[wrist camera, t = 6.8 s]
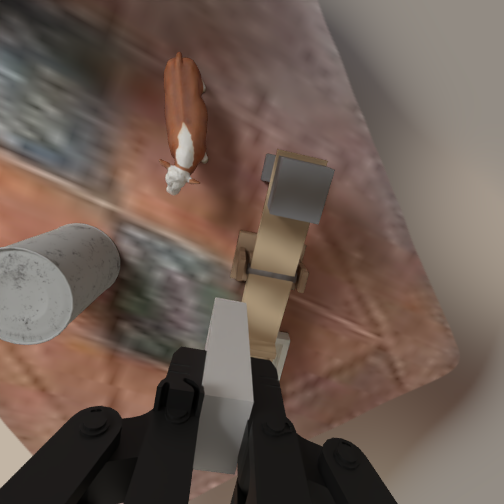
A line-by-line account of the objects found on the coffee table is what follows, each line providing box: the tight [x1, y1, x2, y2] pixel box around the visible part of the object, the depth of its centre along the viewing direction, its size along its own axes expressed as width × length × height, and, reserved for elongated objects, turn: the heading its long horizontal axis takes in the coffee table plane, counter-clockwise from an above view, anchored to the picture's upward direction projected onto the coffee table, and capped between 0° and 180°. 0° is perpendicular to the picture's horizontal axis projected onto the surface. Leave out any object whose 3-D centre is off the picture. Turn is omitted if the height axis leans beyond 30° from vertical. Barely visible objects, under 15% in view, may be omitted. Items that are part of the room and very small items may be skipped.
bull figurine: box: [159, 52, 208, 195], centre depth 34 cm, size 4×13×8 cm, turn 176°
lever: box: [241, 149, 335, 362], centre depth 35 cm, size 26×6×5 cm, turn 168°
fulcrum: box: [230, 230, 309, 293], centre depth 39 cm, size 6×8×7 cm
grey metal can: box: [0, 223, 120, 345], centre depth 35 cm, size 10×10×12 cm
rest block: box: [261, 154, 276, 182], centre depth 38 cm, size 3×6×2 cm, turn 78°
